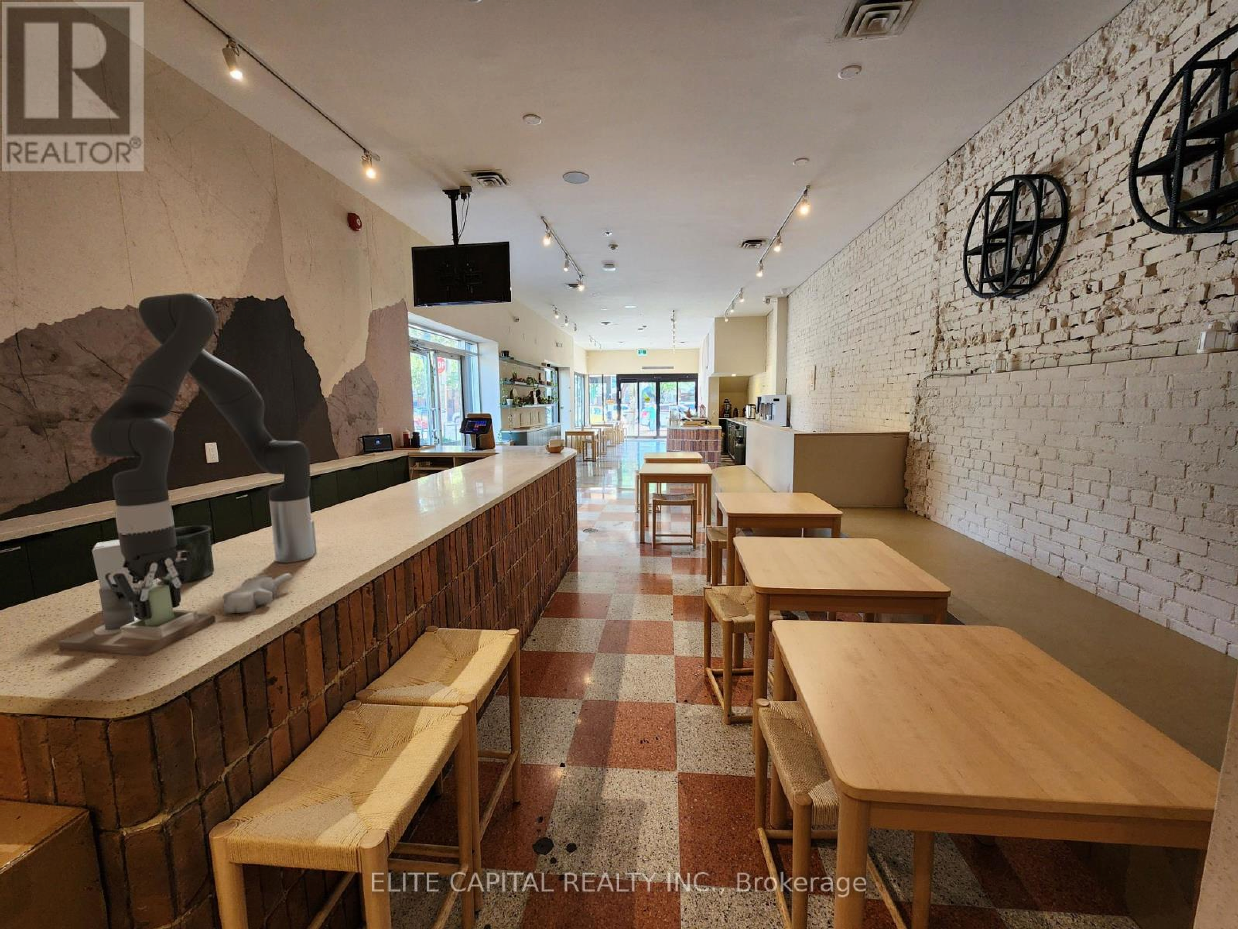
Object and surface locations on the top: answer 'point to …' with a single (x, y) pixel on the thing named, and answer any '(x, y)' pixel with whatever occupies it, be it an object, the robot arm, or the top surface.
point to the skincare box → (109, 560)
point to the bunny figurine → (253, 593)
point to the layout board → (132, 629)
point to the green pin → (159, 606)
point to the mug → (196, 549)
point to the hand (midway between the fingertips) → (159, 612)
